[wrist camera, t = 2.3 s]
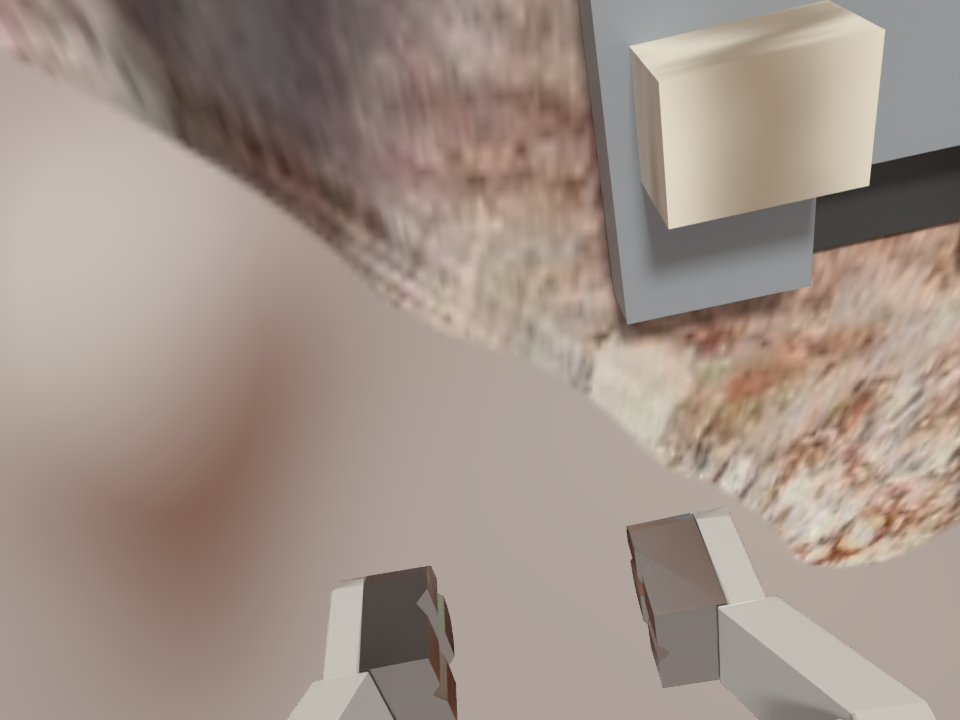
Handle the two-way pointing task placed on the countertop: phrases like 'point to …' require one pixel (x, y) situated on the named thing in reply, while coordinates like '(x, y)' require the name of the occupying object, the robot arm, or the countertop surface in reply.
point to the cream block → (757, 112)
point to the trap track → (789, 227)
